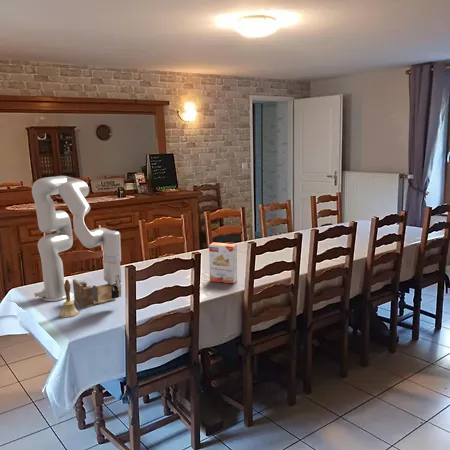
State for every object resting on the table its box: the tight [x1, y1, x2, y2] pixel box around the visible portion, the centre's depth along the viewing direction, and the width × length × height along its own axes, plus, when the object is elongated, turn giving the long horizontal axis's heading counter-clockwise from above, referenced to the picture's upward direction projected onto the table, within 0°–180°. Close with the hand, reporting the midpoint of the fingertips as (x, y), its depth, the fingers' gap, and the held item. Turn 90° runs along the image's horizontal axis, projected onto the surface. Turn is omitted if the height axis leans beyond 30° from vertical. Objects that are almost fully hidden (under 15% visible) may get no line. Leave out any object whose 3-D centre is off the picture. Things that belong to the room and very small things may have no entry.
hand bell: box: [59, 279, 80, 318], centre depth 203 cm, size 8×8×16 cm
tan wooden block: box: [92, 283, 122, 302], centre depth 206 cm, size 12×4×6 cm, turn 126°
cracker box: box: [208, 241, 238, 284], centre depth 244 cm, size 14×6×21 cm, turn 68°
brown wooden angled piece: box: [72, 278, 116, 309], centre depth 219 cm, size 16×12×11 cm
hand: (113, 296), depth 208 cm, fingers closed on tan wooden block, 3 cm apart
